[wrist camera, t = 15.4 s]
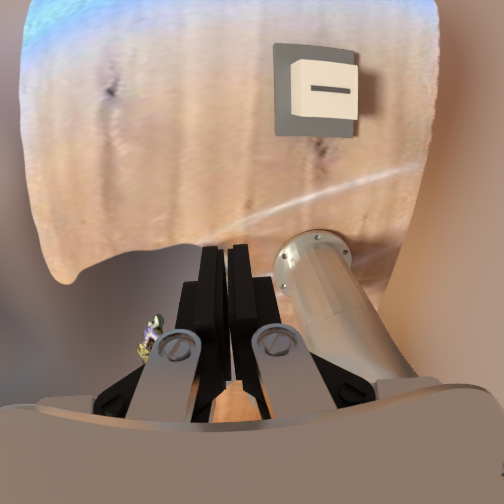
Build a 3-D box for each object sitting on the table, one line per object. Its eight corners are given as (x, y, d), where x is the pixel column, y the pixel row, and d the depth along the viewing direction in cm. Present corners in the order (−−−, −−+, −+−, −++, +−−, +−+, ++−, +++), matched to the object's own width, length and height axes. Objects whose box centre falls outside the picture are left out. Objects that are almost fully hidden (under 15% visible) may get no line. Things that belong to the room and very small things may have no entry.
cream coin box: (341, 69, 28) (358, 65, 24) (340, 116, 31) (357, 120, 27) (290, 64, 28) (301, 58, 23) (291, 114, 31) (301, 116, 26)
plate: (348, 136, 34) (352, 138, 33) (275, 134, 34) (276, 136, 32) (348, 52, 28) (353, 51, 27) (272, 45, 27) (274, 43, 26)
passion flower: (158, 304, 53) (138, 309, 41) (212, 320, 53) (205, 331, 41) (146, 356, 51) (125, 374, 39) (198, 373, 52) (188, 396, 40)
